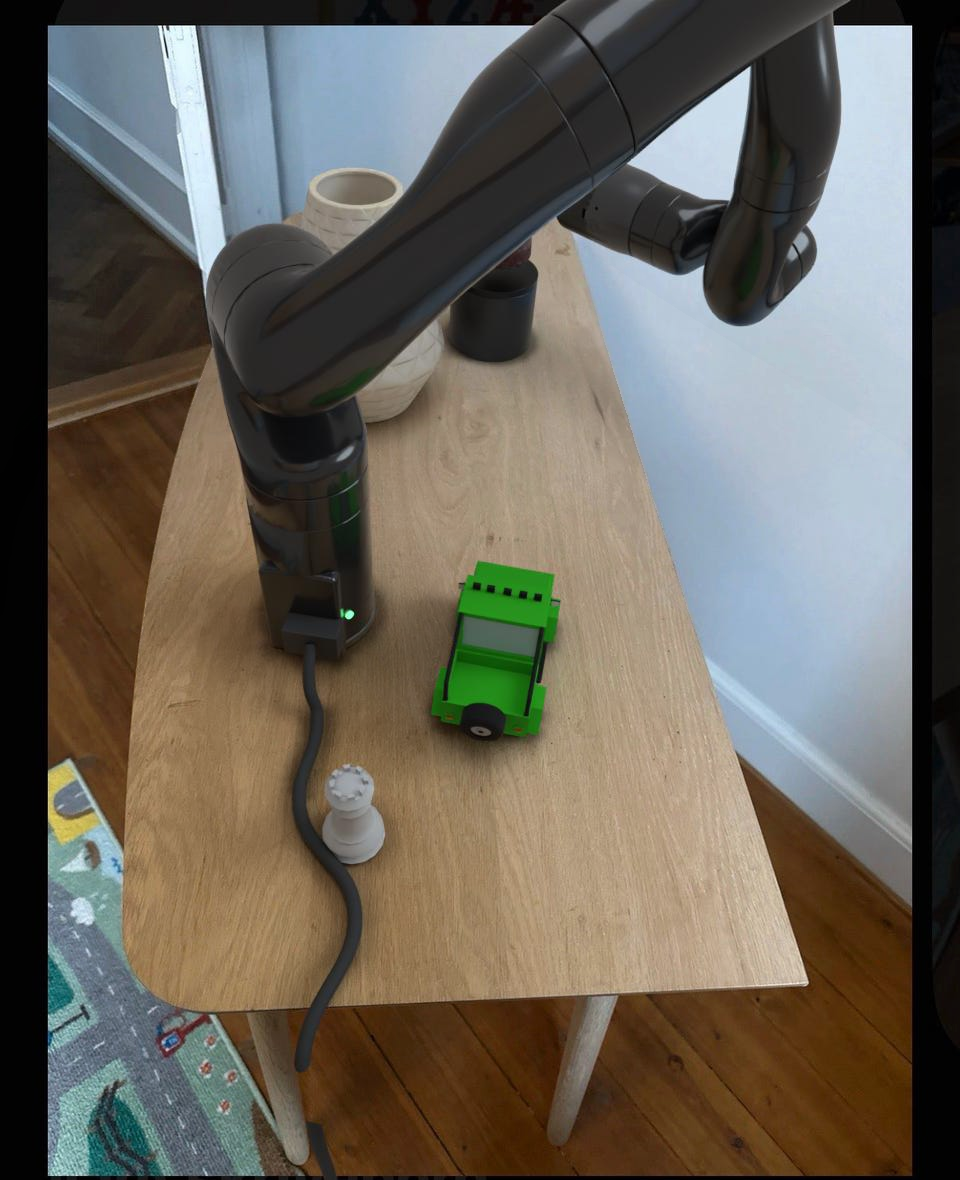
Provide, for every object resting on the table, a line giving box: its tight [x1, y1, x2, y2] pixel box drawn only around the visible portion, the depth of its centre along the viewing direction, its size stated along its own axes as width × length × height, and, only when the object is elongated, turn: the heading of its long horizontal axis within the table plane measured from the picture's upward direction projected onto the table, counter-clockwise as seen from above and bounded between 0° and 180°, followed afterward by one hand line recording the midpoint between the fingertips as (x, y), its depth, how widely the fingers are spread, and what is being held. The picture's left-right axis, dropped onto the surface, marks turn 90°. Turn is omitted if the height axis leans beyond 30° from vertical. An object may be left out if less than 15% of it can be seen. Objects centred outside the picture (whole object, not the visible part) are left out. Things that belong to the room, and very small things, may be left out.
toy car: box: [430, 560, 562, 743], centre depth 69 cm, size 8×17×10 cm, turn 170°
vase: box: [299, 166, 445, 424], centre depth 90 cm, size 18×17×23 cm
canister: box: [448, 259, 539, 363], centre depth 105 cm, size 10×10×9 cm
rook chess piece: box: [321, 763, 386, 865], centre depth 60 cm, size 4×4×8 cm
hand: (485, 148), depth 93 cm, fingers closed
